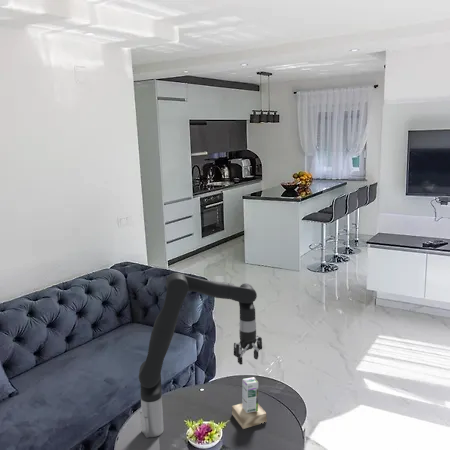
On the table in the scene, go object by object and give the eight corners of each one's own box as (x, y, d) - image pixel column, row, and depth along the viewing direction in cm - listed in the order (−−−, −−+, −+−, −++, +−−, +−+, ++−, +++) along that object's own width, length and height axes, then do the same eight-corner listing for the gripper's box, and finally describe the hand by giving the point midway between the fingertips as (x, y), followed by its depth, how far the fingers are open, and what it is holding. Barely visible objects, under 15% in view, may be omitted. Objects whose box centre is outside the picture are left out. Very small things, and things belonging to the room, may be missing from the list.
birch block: (243, 429, 208) (242, 420, 207) (232, 415, 219) (232, 405, 218) (266, 422, 213) (266, 413, 212) (254, 409, 223) (254, 399, 222)
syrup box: (246, 413, 211) (247, 383, 209) (241, 407, 216) (242, 378, 214) (257, 411, 213) (258, 381, 211) (252, 405, 218) (253, 376, 216)
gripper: (239, 335, 200) (239, 369, 203) (265, 327, 207) (265, 360, 210) (229, 329, 206) (230, 362, 209) (255, 321, 213) (255, 353, 216)
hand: (248, 361), depth 210 cm, fingers open, 8 cm apart
